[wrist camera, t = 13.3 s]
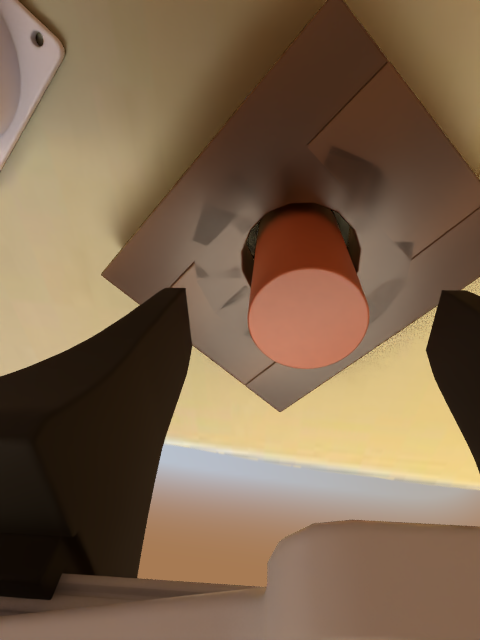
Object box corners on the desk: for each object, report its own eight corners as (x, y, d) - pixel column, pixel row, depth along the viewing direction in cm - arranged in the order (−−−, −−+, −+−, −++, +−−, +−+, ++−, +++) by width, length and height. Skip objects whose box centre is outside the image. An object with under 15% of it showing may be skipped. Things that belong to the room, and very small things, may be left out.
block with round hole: (121, 250, 21) (100, 275, 19) (326, 2, 15) (335, -11, 13) (280, 378, 25) (280, 413, 22) (495, 220, 19) (528, 244, 16)
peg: (241, 236, 20) (223, 321, 14) (300, 177, 19) (312, 241, 12) (295, 286, 22) (303, 387, 15) (355, 236, 20) (395, 323, 13)
